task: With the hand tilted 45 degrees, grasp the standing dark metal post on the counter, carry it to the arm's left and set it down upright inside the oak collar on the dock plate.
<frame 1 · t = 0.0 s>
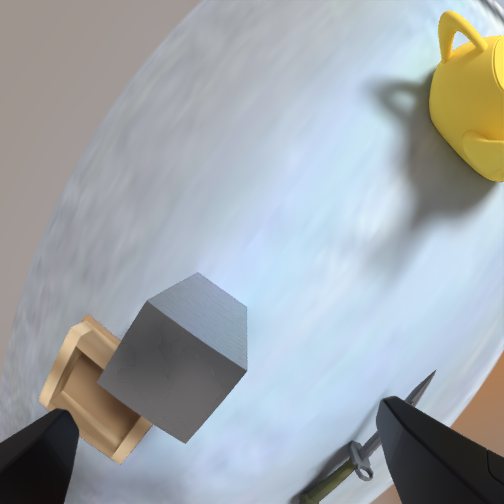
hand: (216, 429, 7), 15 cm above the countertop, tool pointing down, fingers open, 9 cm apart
knife: (357, 438, 23), on the countertop
dock: (109, 388, 23), on the countertop
teapot: (463, 107, 23), on the countertop
post: (205, 313, 23), on the countertop
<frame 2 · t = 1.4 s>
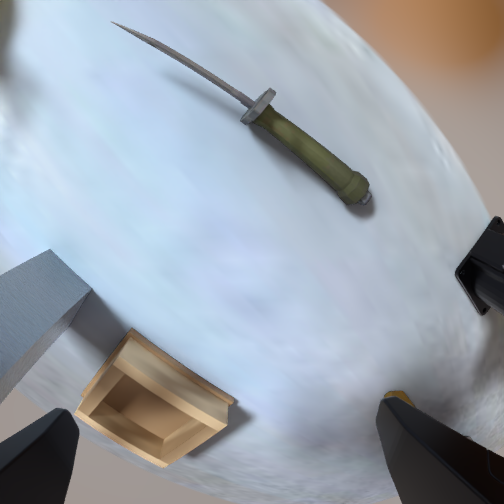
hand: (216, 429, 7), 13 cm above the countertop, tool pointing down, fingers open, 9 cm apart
knife: (242, 108, 17), on the countertop
dock: (151, 397, 22), on the countertop
post: (58, 289, 20), on the countertop
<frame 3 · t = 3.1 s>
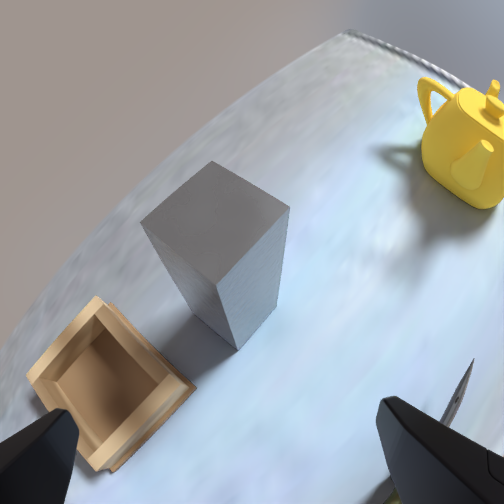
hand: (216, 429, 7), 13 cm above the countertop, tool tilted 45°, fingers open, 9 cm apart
knife: (399, 470, 16), on the countertop
dock: (110, 387, 20), on the countertop
teapot: (451, 162, 31), on the countertop
post: (234, 310, 23), on the countertop
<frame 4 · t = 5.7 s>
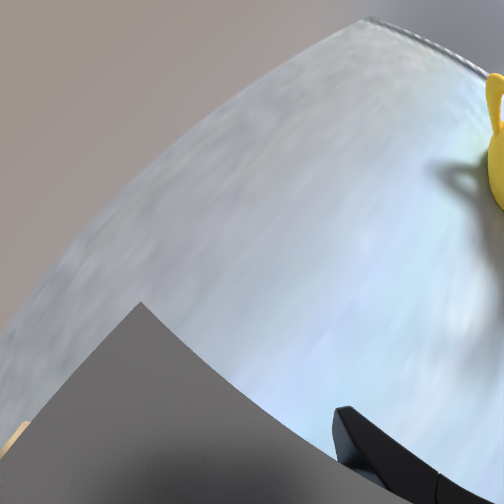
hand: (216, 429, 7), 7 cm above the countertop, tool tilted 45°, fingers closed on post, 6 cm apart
post: (237, 448, 12), on the countertop, touching gripper
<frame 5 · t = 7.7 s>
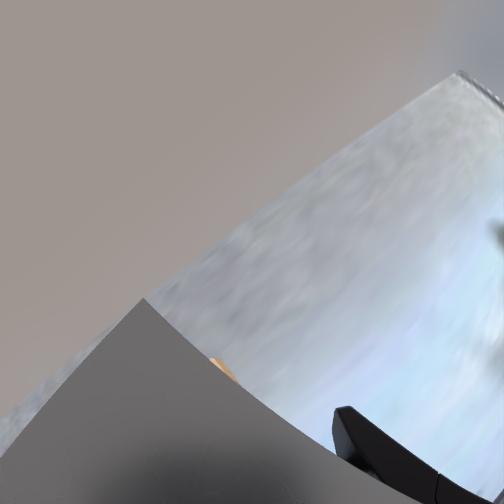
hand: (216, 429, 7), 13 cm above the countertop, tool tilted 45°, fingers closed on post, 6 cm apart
post: (238, 447, 12), point 7 cm above the countertop, touching gripper
when the fingers open (8 cm above the countertop, at t = 9.6 s): post drops 1 cm, resting on dock.
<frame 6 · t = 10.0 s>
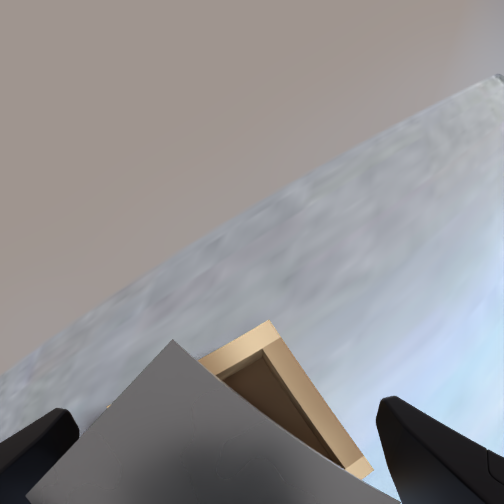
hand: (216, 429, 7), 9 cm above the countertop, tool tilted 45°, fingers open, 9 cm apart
dock: (240, 443, 14), on the countertop
post: (240, 446, 13), point 1 cm above the countertop, touching dock
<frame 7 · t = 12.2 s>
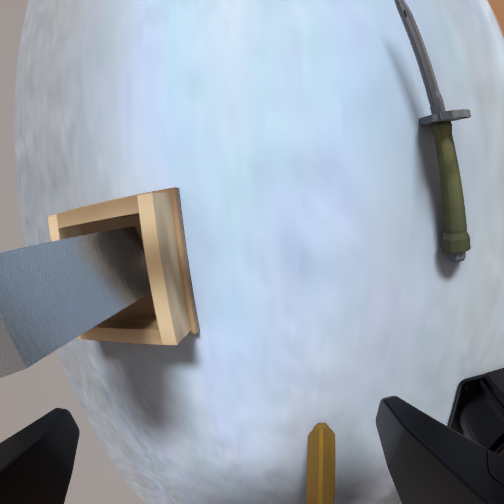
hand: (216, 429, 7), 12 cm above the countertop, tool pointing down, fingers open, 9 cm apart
knife: (423, 115, 16), on the countertop
dock: (127, 266, 21), on the countertop
post: (124, 268, 20), point 1 cm above the countertop, touching dock
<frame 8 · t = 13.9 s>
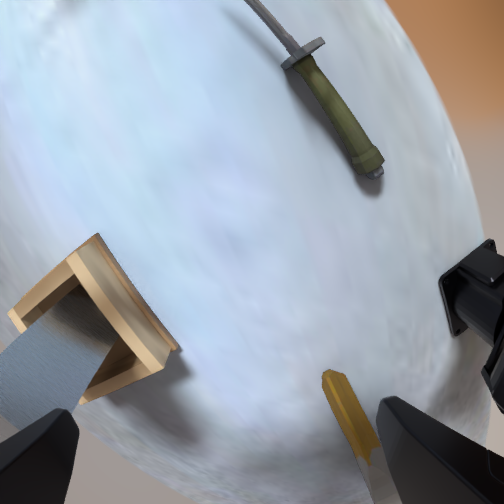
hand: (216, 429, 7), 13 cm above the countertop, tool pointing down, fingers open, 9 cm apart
knife: (284, 59, 16), on the countertop
dock: (92, 320, 20), on the countertop
post: (90, 323, 20), point 1 cm above the countertop, touching dock
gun: (372, 441, 26), on the countertop
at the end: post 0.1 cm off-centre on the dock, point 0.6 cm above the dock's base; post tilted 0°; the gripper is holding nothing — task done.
